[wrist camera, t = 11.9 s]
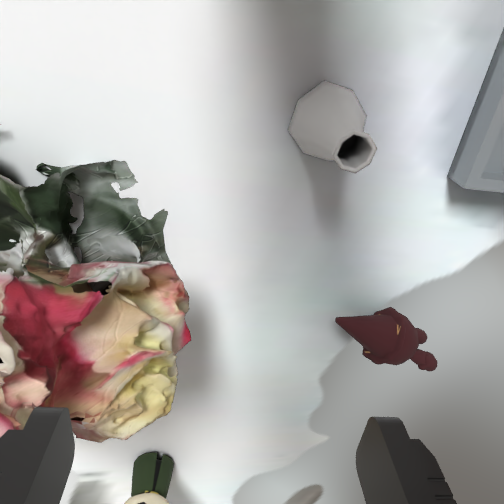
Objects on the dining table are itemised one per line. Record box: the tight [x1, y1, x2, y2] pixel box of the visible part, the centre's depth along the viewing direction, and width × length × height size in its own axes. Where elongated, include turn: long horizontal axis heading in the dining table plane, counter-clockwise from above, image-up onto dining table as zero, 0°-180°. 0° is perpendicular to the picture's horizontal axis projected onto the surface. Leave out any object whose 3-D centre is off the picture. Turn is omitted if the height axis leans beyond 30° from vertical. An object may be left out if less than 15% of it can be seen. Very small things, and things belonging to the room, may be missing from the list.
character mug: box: [124, 453, 174, 504], centre depth 59 cm, size 11×7×13 cm, turn 65°
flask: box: [288, 80, 377, 173], centre depth 35 cm, size 7×7×10 cm
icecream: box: [335, 307, 437, 371], centre depth 50 cm, size 7×7×15 cm
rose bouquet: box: [0, 124, 191, 442], centre depth 32 cm, size 26×29×30 cm
